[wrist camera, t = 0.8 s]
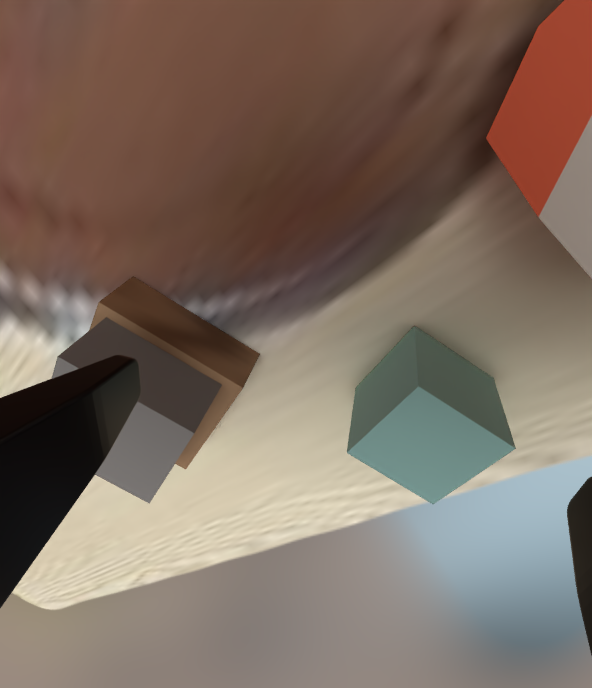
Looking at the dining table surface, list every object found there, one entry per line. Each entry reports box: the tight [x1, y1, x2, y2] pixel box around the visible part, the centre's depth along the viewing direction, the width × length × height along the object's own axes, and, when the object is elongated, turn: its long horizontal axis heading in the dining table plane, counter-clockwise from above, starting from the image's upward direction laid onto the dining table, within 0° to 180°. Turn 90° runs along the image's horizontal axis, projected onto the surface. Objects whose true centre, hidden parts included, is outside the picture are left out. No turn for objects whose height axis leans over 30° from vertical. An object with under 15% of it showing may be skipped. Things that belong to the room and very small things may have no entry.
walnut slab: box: [89, 277, 260, 469], centre depth 24 cm, size 8×8×4 cm
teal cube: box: [347, 326, 516, 504], centre depth 20 cm, size 5×5×5 cm
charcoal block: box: [52, 317, 222, 503], centre depth 21 cm, size 6×6×4 cm
